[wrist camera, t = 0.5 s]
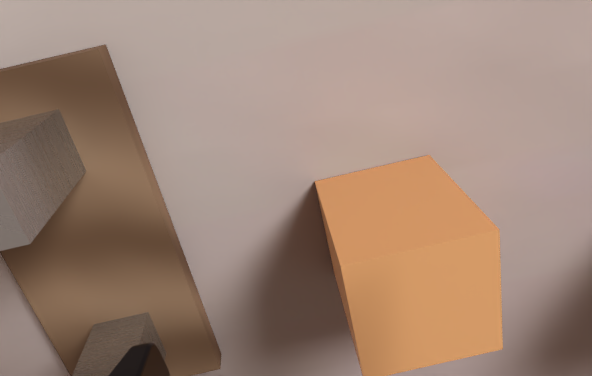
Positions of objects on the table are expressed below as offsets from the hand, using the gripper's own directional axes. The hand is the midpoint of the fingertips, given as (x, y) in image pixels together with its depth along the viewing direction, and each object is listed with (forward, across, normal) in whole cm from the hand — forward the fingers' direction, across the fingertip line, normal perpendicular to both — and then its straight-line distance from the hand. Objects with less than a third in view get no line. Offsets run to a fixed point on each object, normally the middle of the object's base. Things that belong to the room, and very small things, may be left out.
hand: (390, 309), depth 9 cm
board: (+12, +11, +4) cm, 17 cm away
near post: (+12, +11, 0) cm, 16 cm away
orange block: (+12, -2, +6) cm, 14 cm away
